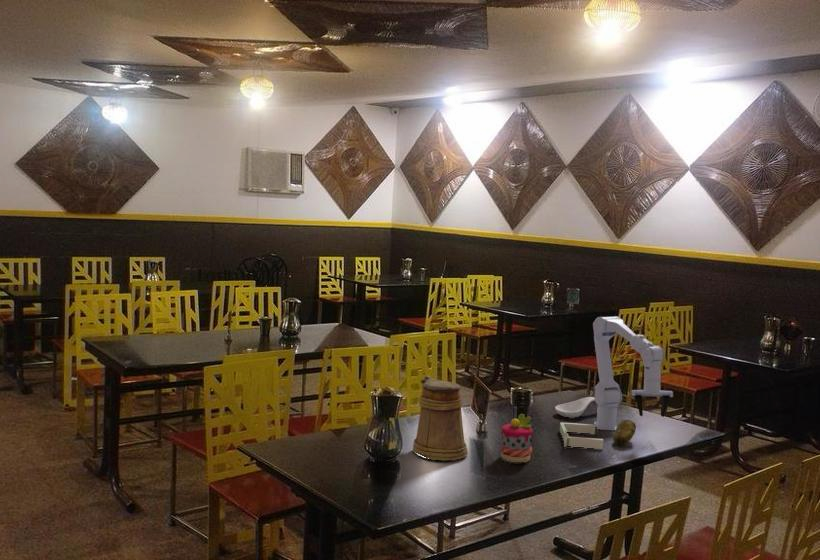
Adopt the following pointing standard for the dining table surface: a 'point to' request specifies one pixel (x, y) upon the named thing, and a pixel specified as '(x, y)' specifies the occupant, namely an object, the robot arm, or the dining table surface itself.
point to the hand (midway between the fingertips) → (651, 415)
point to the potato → (624, 432)
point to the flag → (565, 438)
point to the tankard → (440, 421)
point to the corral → (577, 440)
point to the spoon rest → (574, 407)
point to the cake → (517, 440)
